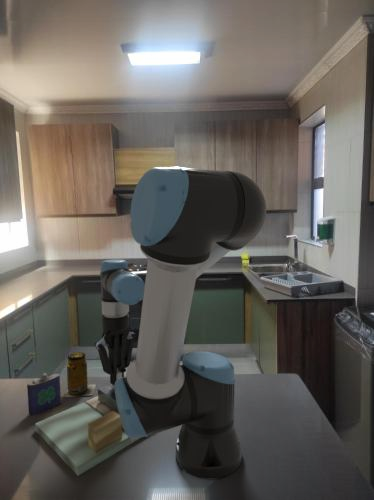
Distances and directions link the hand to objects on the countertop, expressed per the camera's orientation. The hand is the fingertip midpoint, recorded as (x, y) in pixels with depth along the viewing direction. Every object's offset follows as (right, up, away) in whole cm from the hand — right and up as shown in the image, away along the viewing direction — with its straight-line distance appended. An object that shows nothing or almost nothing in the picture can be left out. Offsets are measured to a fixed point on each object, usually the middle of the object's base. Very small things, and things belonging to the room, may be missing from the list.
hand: (117, 393), depth 96 cm
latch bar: (+1, -2, -5) cm, 6 cm away
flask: (-21, -4, -1) cm, 21 cm away
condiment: (-14, -3, +9) cm, 17 cm away
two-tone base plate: (-3, -5, -10) cm, 11 cm away
